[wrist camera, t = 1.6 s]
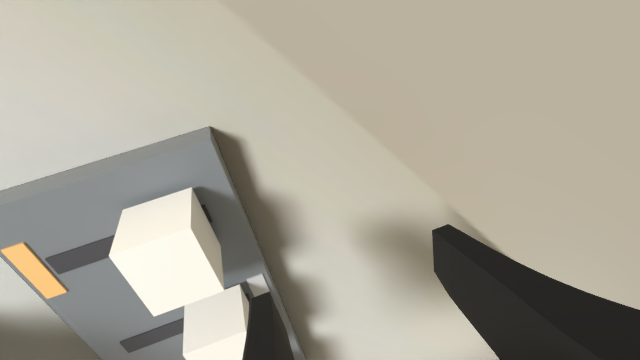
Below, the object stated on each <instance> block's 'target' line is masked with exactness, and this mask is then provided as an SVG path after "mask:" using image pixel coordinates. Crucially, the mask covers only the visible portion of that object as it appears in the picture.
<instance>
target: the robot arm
mask: <svg viewBox="0 0 640 360" xmlns="http://www.w3.org/2000/svg"><path fill="white" fill-rule="evenodd" d="M432 236H433V256H434V272H435V273H436V275H437V277H438V278H439V280H440V282H441V283H442V285H443V286H444V288H445V290H446V291H447V293H448V294H449V296H450V297H451V299H452V300H453V301H454V302H455V304H456V305H457V306H458V308H459V309H460V310H461V311H462V313H463V314H464V315H465V316H466V318H467V319H468V320H469V321H470V323H471V324H472V325H473V326H474V328H475V329H476V330H477V331H478V333H479V334H480V335H481V336H482V338H483V339H484V340H485V341H486V343H487V344H488V345H489V346H490V348H491V349H492V350H493V351H494V352H495V354H496V355H497V357H498V358H499V359H500V360H640V310H638V309H634V308H631V307H628V306H625V305H622V304H619V303H616V302H613V301H610V300H607V299H604V298H601V297H598V296H595V295H593V294H590V293H587V292H584V291H582V290H579V289H577V288H574V287H572V286H569V285H567V284H564V283H562V282H559V281H557V280H554V279H552V278H550V277H548V276H545V275H543V274H541V273H539V272H537V271H535V270H533V269H530V268H528V267H526V266H524V265H522V264H520V263H518V262H516V261H514V260H512V259H510V258H509V257H507V256H505V255H503V254H501V253H499V252H497V251H495V250H493V249H492V248H490V247H488V246H486V245H484V244H483V243H481V242H479V241H477V240H475V239H474V238H472V237H470V236H468V235H467V234H465V233H463V232H461V231H460V230H458V229H456V228H454V227H452V226H451V225H449V224H448V225H445V226H442V227H440V228H437V229H434V230H432ZM242 360H294V356H293V352H292V349H291V345H290V341H289V338H288V334H287V331H286V328H285V325H284V323H283V321H282V319H281V316H280V314H279V312H278V309H277V307H276V305H275V302H274V300H273V298H272V295H271V293H270V291H269V292H267V293H264V294H261V295H259V296H256V297H253V298H251V300H250V301H249V315H248V325H247V333H246V340H245V346H244V352H243V358H242Z"/></svg>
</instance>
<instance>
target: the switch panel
mask: <svg viewBox="0 0 640 360" xmlns="http://www.w3.org/2000/svg"><path fill="white" fill-rule="evenodd" d="M191 187H192V189H193V191H194V193H195V195H196V197H197V199H198V201H199V203H200V205H201V207H202V209H203V211H204V213H205V215H206V217H207V219H208V221H209V223H210V225H211V227H212V229H213V231H214V233H215V235H216V237H217V239H218V241H219V243H220V245H221V256H222V268H223V281H224V290H226V289H228V288H231V287H234V286H236V285H239V284H240V286H241V288H242V290H243V292H244V294H245V296H246V298H247V300H248V302H249V301H250V300H251V298H253V297H256V296H259V295H261V294H264V293H267V292H269V291H270V293H271V295H272V298H273V300H274V302H275V305H276V307H277V309H278V312H279V314H280V316H281V319H282V321H283V323H284V325H285V328H286V331H287V334H288V338H289V341H290V345H291V349H292V352H293V356H294V360H306V358H305V355H304V353H303V351H302V348H301V346H300V343H299V341H298V338H297V336H296V334H295V331H294V329H293V326H292V324H291V322H290V319H289V317H288V314H287V312H286V310H285V307H284V305H283V302H282V300H281V297H280V295H279V293H278V290H277V288H276V285H275V283H274V281H273V278H272V276H271V273H270V271H269V269H268V266H267V264H266V261H265V259H264V256H263V254H262V252H261V249H260V247H259V244H258V242H257V240H256V237H255V235H254V232H253V230H252V228H251V225H250V223H249V220H248V218H247V215H246V213H245V211H244V208H243V206H242V203H241V201H240V199H239V196H238V194H237V191H236V189H235V187H234V184H233V182H232V179H231V177H230V174H229V172H228V170H227V167H226V165H225V162H224V160H223V158H222V155H221V153H220V150H219V148H218V146H217V143H216V141H215V138H214V136H213V133H212V131H211V129H210V126H209V127H206V128H203V129H199V130H196V131H193V132H190V133H186V134H183V135H180V136H177V137H173V138H170V139H167V140H164V141H161V142H157V143H154V144H151V145H148V146H144V147H141V148H138V149H135V150H131V151H128V152H125V153H122V154H119V155H115V156H112V157H109V158H106V159H102V160H99V161H96V162H93V163H89V164H86V165H83V166H80V167H77V168H73V169H70V170H67V171H64V172H60V173H57V174H54V175H51V176H47V177H44V178H41V179H38V180H35V181H31V182H28V183H25V184H22V185H18V186H15V187H12V188H9V189H5V190H2V191H0V257H1V258H2V259H3V260H4V261H5V262H6V263H7V264H8V265H9V266H10V267H11V268H12V269H13V270H14V271H15V272H16V273H17V274H18V275H19V276H20V277H21V278H22V279H23V280H24V281H25V282H26V283H27V284H28V285H29V286H30V287H31V288H32V289H33V290H34V291H35V292H36V293H37V294H38V295H39V296H40V297H41V298H42V299H43V300H44V301H45V303H46V304H47V305H48V306H49V307H50V308H51V309H52V310H53V311H54V312H55V313H56V314H57V315H58V316H59V317H60V318H61V319H62V320H63V321H64V322H65V323H66V324H67V325H68V326H69V327H70V328H71V329H72V330H73V331H74V332H75V333H76V334H77V335H78V336H79V337H80V338H81V339H82V340H83V341H84V342H85V343H86V344H87V345H88V346H89V347H90V348H91V349H92V350H93V351H94V352H95V353H96V354H97V355H98V356H99V357H100V359H101V360H186V359H185V358H184V356H183V333H184V307H185V305H184V306H182V307H179V308H176V309H174V310H171V311H168V312H166V313H163V314H160V315H157V316H155V317H154V316H153V315H152V314H151V312H150V311H149V309H148V308H147V307H146V305H145V304H144V303H143V301H142V300H141V299H140V297H139V296H138V295H137V293H136V292H135V291H134V289H133V288H132V287H131V285H130V284H129V283H128V281H127V280H126V279H125V277H124V276H123V275H122V273H121V272H120V271H119V269H118V268H117V267H116V265H115V264H114V263H113V261H112V260H111V259H110V257H109V253H110V250H111V247H112V243H113V240H114V237H115V234H116V230H117V227H118V224H119V221H120V217H121V214H122V211H123V210H124V209H127V208H130V207H133V206H136V205H139V204H142V203H145V202H148V201H151V200H154V199H157V198H160V197H163V196H166V195H169V194H172V193H175V192H179V191H182V190H185V189H188V188H191Z"/></svg>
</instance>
